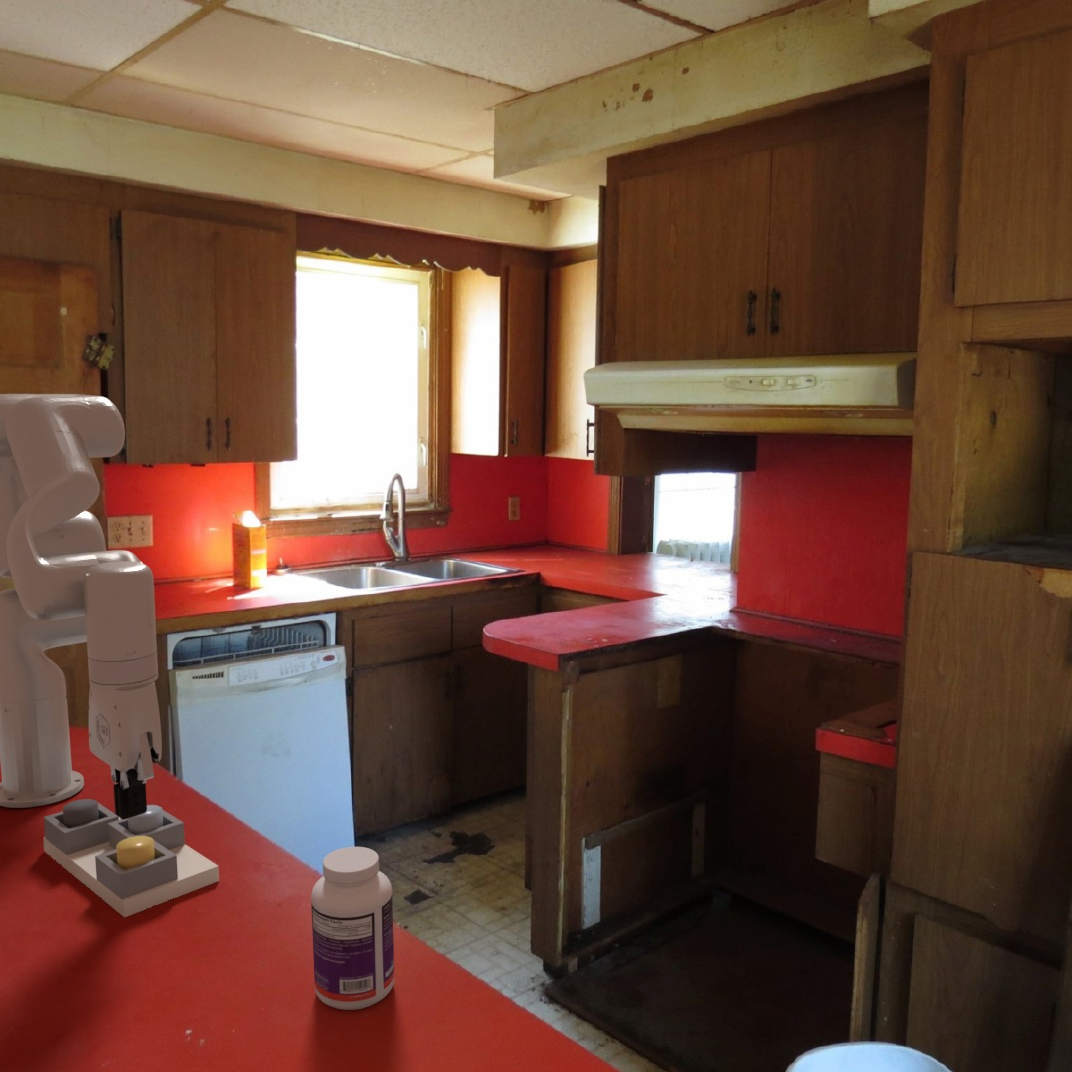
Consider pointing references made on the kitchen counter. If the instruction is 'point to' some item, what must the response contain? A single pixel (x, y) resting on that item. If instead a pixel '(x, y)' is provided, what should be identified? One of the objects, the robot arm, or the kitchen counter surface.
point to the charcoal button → (80, 812)
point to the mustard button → (135, 851)
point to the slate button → (146, 820)
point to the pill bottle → (352, 930)
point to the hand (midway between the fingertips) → (131, 813)
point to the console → (137, 887)
